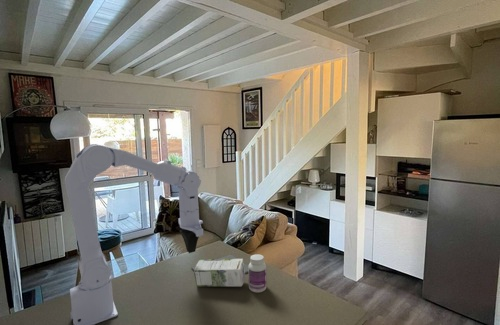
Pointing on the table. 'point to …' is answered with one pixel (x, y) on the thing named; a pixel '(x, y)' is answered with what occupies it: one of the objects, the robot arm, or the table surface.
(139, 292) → the table surface
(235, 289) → the table surface
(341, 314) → the table surface
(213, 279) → the syrup box
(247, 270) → the rubber mat
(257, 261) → the pill bottle
